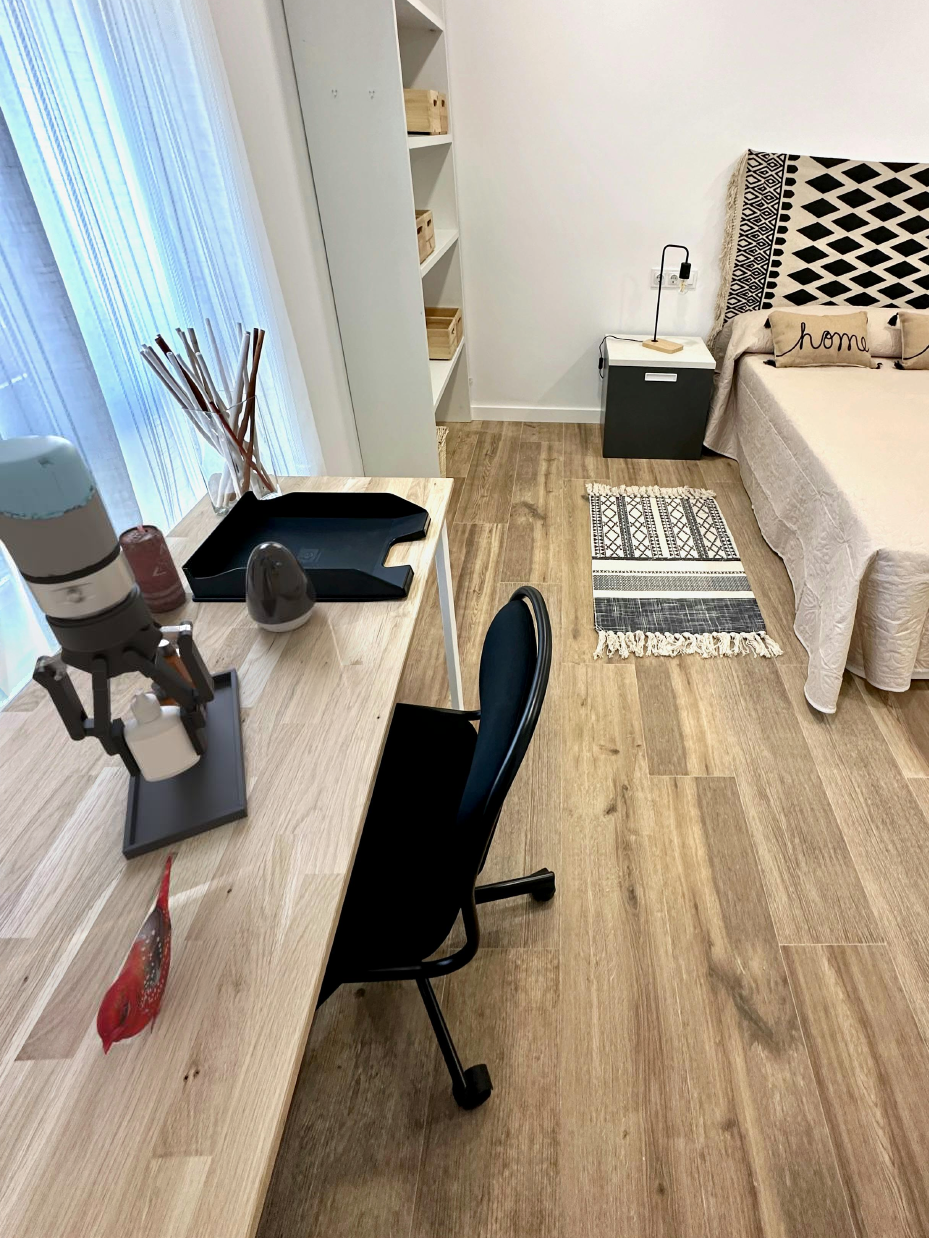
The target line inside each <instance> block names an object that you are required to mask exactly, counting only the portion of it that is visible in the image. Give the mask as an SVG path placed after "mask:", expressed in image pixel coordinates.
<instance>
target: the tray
mask: <svg viewBox="0 0 929 1238" xmlns="http://www.w3.org/2000/svg"><path fill="white" fill-rule="evenodd" d="M210 675H211V677H212V679H213V681H214V700H213V701H211V702H206V705H205V706H204V710H205V713H206V727H203V728H202V730H203V733H204V735H205V737H206V740H207V747H206V749H205V754H202V755H200V759H199V761H198V762H197V763H195V764H194V765H193V766H191V767H190V768H188V769H187V770H185V771H183V772H181V773H179V774H177V775H175V776H173V777H170V778H167V779H163V780H159V781H152V782H150V781H147V780H146V779H145V778H144V776H143V774H142V772H141V770H140V775H137V776H134V777H131V775H130V774H129V783H128V793H127V803H126V810H125V812H126V813H125V820H124V821H125V822H124V832H123V843H122V852H121V853H122V855H123V857H124V858H125V859H126V861H130V860H133V859H136V858H138V857H141V856H144V855H147V854H149V853H153V852H155V851H157V850H161V849H163V848H166V847H168V846H172V845H174V844H176V843H180V842H183V841H185V840H187V839H190V838H194V837H195V836H198V835H202V834H204V833H207V832H209V831H212V830H215V829H218V828H220V827H223V826H226V825H229V824H231V823H234V822H236V821H239V820H242V819H245V818H248V817H249V813H248V812H249V811H248V799H247V785H246V772H245V758H244V744H243V742H244V741H243V730H242V718H241V717H242V716H241V704H240V703H241V702H240V689H239V676H238V672H237V670H236V667H233V668H230V669H226V670H221V671H219V672H215V673H210ZM152 691H153V690H150V691H147V692H144V693H145V694H150V693H151V692H152Z"/></svg>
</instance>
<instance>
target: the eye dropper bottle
mask: <svg viewBox="0 0 929 1238" xmlns="http://www.w3.org/2000/svg"><path fill="white" fill-rule="evenodd" d="M145 693H146V692H144V691H143V690H142V689H139V690H137V691H135V693H134V697H135V698H134V699H133V700H132V702H130V705H129V708H130V710H131V712H132V714H133V716H134V717H133V718H132V719H131V720H129V722H127V723H126V724H125V727H124V737H125V740H126V743H127V745H128V747H129V749H130V751H131V753H132V755H133V757H134V758H135V760H136V762H137V764H138V766H139V768H140V770H141V772H142V774H143V776H144V778H145V779H146V780H147V781H150V782H152V781H159V780H163V779H167V778H170V777H173V776H175V775H177V774H179V773H181V772H183V771H185V770H187V769H188V768H190V767H191V766H193V765H194V764H195V763H197V762H198V761H199V759H200V755H199V756H197V754H196V752H195V749H194V747H193V745H192V743H191V741H190V738H189V736H188V734H187V732H186V730H185V727H184V725H183V723H182V721H181V719H180V708H179V707H177V706H162V707H161V706H160V704H159V701H158V699H157V697H156V696H155V695H154V694H145Z"/></svg>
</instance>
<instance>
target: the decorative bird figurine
mask: <svg viewBox="0 0 929 1238" xmlns="http://www.w3.org/2000/svg"><path fill="white" fill-rule="evenodd" d="M171 868H172V856H171V855H168V857H167V859H166V861H165V865H164V870H163V872H162V878H161V882H160V886H159V891H158V895H157V898H156V902H155V905H154V908H153V909H152V911H151V912H150V914H149V915H148V916H147V918H146V920H145V921H144V923H143V925H142V926H141V928H140V929H139V930H140V931H139V932H138V934H137V936H136V938H135V939H134V941H133V944H132V946H131V948H130V950H129V952H128V954H127V956H126V957H127V958H126V959H125V962H124V964H123V966H122V968H121V970H120V972H119V974H118V977H117V979H116V980H115V981H114V982H113V983H112V985H111V986H110V987H109V988H108V990H107V991H106V993H105V994H104V996H103V999H102V1000H101V1002H100V1005H99V1008H98V1011H97V1015H96V1031H97V1034H98V1037H99V1038H100V1040H101V1042H102V1049H103V1053H104V1055H105V1056H107V1054H108V1052H109V1051H110V1048H111V1046H112V1045H113V1043H119V1042H121V1041H122V1040H127V1039H131V1038H133V1037H134V1036H137V1035H138V1034H139V1033H141V1032H142V1031H144V1029H145V1028H146V1027H147V1026H148V1025H149V1023H150V1022H151V1021H152V1022H151V1026H150V1034H151V1035H152V1034H153V1030H154V1027H155V1024H156V1021H157V1018H158V1016H159V1014H160V1013H161V1010H162V1007H163V1001H164V995H165V990H166V986H167V982H168V979H169V973H170V967H171V959H172V958H171V956H172V953H171V952H172V933H173V932H172V931H173V930H172V929H173V928H172V920H171V915H170V909H169V892H170V883H171V882H170V880H171V872H172V871H171V870H172V869H171Z"/></svg>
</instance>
